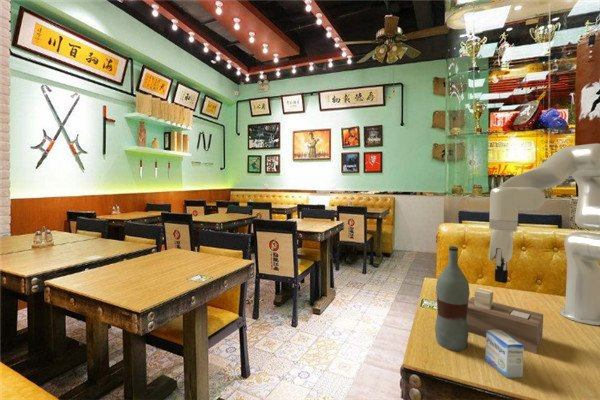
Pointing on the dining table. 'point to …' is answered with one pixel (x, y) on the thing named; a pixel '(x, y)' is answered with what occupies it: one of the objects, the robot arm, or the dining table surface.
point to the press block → (506, 323)
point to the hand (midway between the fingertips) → (500, 281)
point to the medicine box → (504, 353)
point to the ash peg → (483, 298)
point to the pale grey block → (520, 315)
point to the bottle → (452, 305)
